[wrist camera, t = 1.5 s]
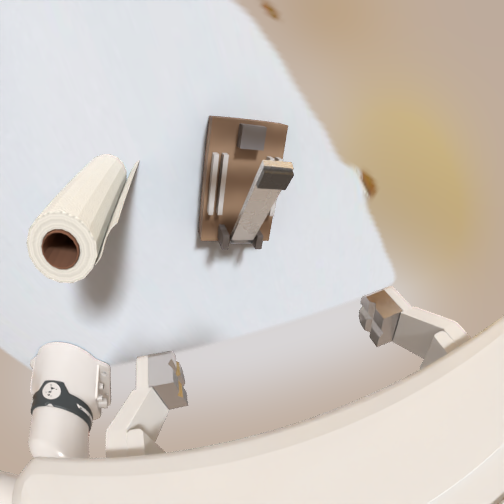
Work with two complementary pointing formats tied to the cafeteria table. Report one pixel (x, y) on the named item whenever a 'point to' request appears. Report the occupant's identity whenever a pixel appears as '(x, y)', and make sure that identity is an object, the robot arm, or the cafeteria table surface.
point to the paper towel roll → (79, 220)
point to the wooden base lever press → (235, 173)
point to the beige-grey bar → (261, 199)
